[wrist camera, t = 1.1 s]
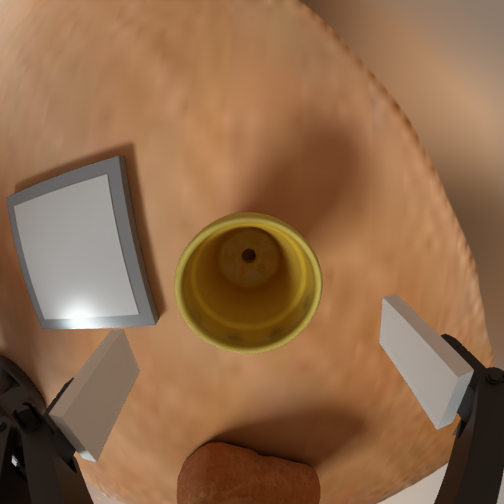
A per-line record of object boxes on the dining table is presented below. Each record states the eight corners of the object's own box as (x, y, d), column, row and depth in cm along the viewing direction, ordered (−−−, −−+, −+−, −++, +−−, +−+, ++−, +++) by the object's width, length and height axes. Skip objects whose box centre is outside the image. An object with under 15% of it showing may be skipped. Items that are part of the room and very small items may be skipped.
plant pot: (206, 193, 27) (184, 202, 17) (310, 214, 28) (341, 234, 18) (190, 291, 29) (167, 340, 20) (285, 309, 30) (300, 363, 21)
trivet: (47, 324, 31) (41, 329, 29) (13, 196, 26) (5, 197, 24) (159, 318, 30) (155, 325, 29) (124, 156, 26) (117, 155, 24)
